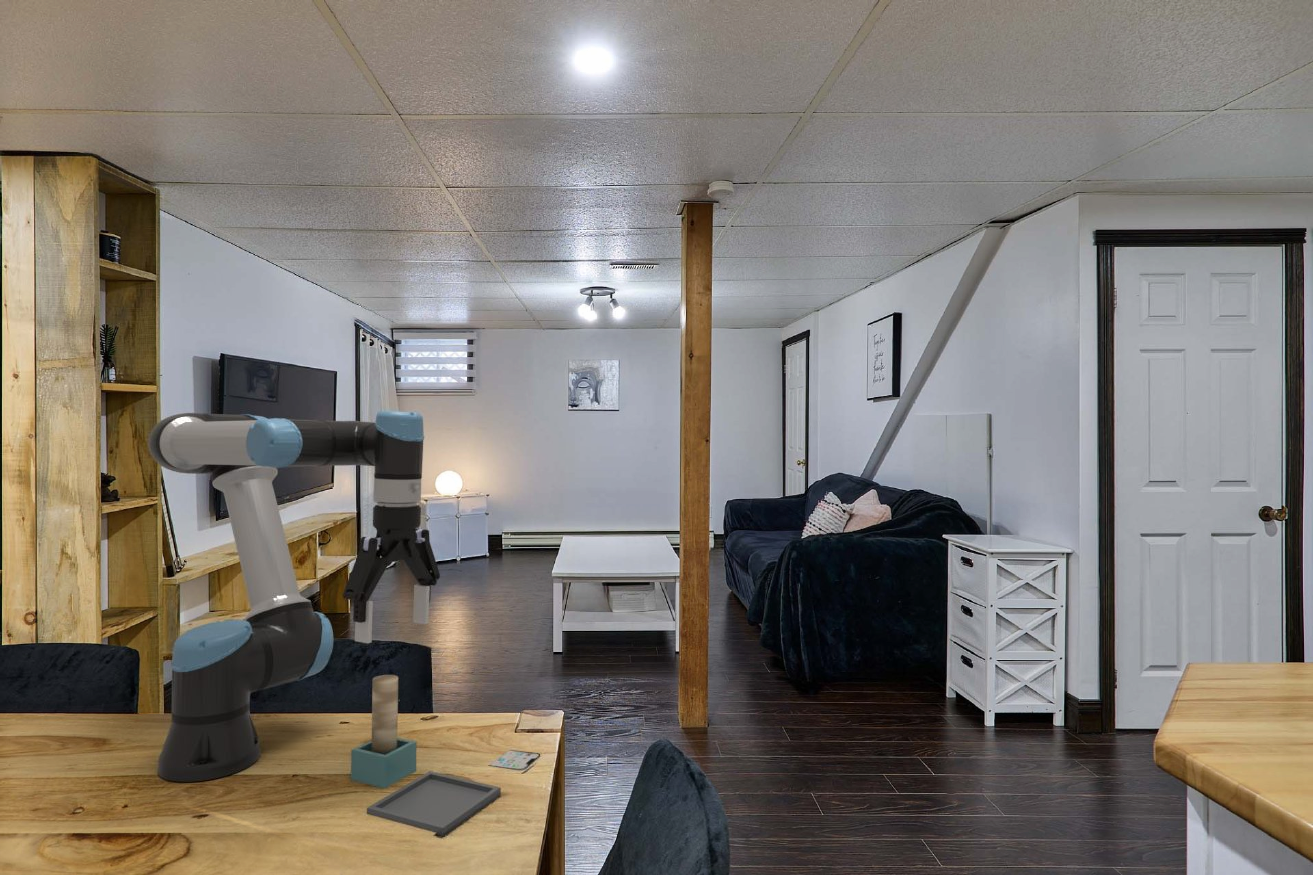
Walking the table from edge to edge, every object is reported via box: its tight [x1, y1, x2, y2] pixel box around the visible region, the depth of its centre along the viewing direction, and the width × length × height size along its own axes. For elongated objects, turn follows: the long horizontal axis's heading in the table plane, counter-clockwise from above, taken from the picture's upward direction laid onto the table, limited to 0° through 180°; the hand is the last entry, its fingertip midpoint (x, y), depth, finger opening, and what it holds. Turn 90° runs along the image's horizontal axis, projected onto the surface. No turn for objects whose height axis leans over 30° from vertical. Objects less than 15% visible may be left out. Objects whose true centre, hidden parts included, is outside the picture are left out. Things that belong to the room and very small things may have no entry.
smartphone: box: [487, 749, 541, 775], centre depth 134 cm, size 7×1×15 cm
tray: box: [366, 770, 502, 839], centre depth 117 cm, size 14×14×1 cm
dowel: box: [371, 674, 399, 755], centre depth 126 cm, size 4×4×16 cm
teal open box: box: [350, 736, 418, 789], centre depth 126 cm, size 7×7×6 cm
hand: (393, 632), depth 127 cm, fingers open, 13 cm apart
